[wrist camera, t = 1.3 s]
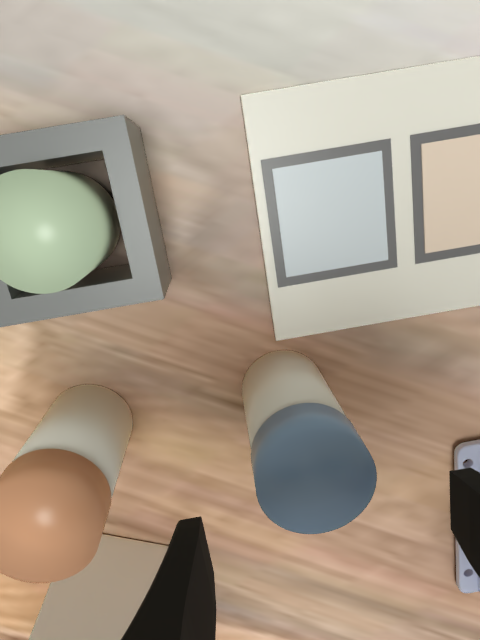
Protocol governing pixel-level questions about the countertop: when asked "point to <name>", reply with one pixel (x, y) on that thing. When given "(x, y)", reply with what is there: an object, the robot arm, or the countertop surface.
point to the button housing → (132, 208)
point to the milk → (100, 593)
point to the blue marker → (303, 447)
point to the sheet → (368, 196)
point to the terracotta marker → (63, 485)
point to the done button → (53, 229)
